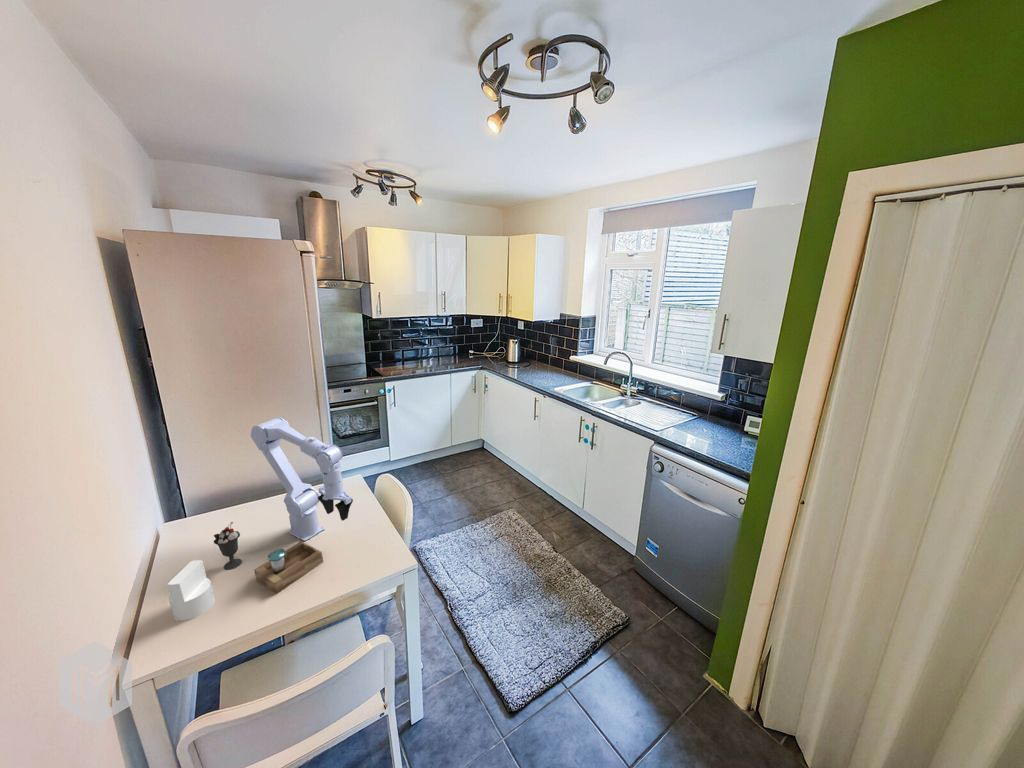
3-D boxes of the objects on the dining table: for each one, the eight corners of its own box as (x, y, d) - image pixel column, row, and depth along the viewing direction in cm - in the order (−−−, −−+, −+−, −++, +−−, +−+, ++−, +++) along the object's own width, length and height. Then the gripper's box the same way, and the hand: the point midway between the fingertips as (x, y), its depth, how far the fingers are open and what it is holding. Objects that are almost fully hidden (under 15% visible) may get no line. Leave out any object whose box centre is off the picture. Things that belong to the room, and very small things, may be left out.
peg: (268, 576, 115) (264, 555, 113) (283, 567, 119) (280, 547, 117) (276, 582, 113) (272, 561, 111) (291, 573, 117) (288, 552, 115)
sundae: (250, 559, 124) (242, 520, 120) (229, 574, 118) (220, 533, 114) (236, 554, 126) (227, 516, 122) (215, 568, 120) (205, 528, 116)
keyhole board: (256, 579, 116) (254, 569, 115) (302, 550, 128) (301, 541, 127) (277, 593, 110) (274, 583, 109) (323, 561, 123) (321, 552, 122)
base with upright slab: (200, 620, 102) (190, 583, 99) (165, 621, 101) (154, 585, 98) (222, 593, 111) (214, 559, 107) (190, 595, 110) (180, 560, 107)
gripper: (308, 480, 127) (313, 515, 131) (336, 492, 121) (341, 528, 124) (327, 471, 133) (331, 505, 137) (354, 482, 127) (358, 517, 130)
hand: (337, 515), depth 131 cm, fingers open, 7 cm apart
